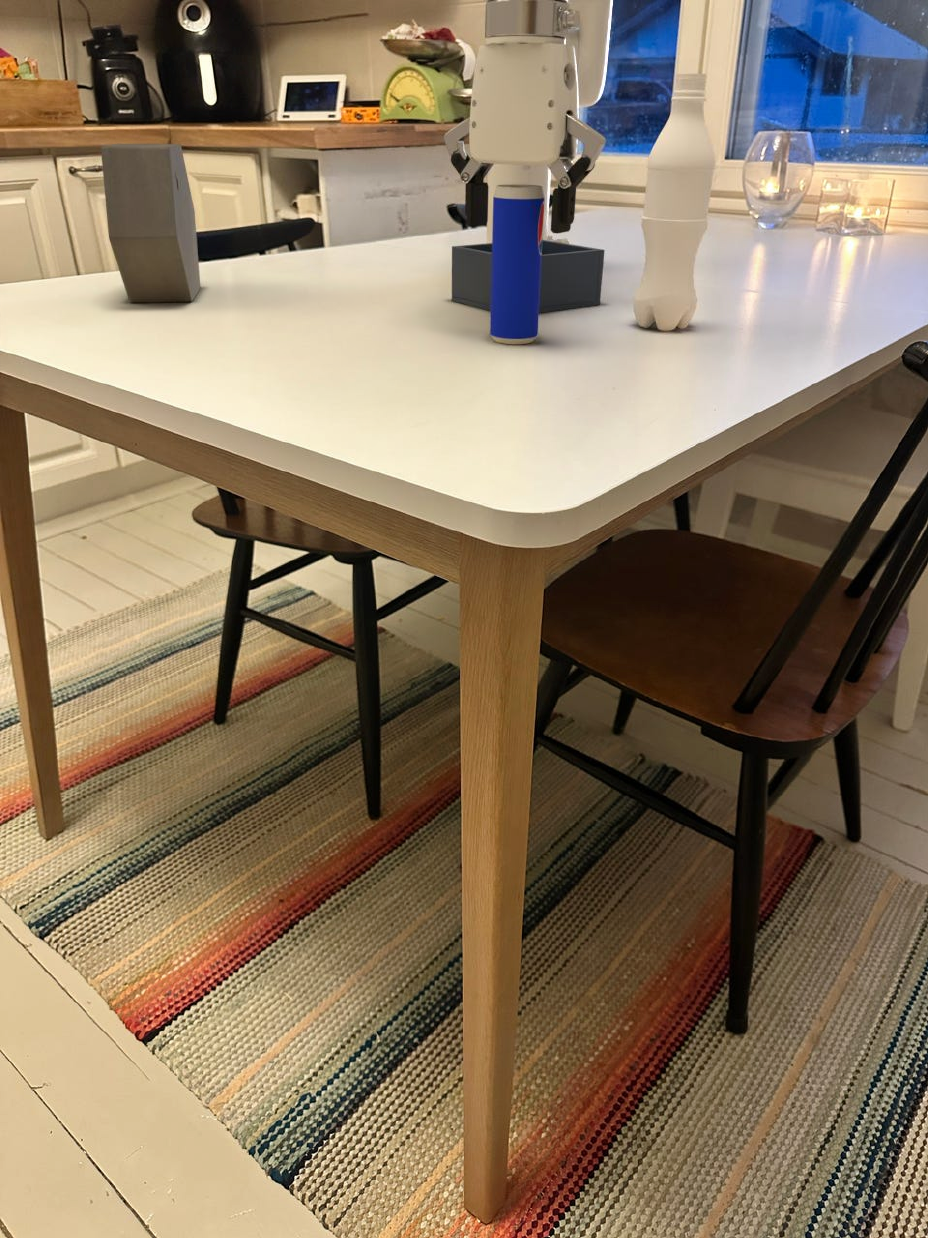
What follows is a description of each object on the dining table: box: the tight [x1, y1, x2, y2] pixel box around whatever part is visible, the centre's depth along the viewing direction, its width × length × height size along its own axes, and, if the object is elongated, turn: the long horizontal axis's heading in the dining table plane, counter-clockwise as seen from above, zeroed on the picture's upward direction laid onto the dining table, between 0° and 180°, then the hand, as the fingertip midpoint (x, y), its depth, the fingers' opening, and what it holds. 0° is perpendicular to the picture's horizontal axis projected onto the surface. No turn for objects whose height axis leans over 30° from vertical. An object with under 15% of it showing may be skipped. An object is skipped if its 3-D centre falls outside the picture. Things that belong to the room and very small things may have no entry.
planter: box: [100, 143, 201, 304], centre depth 111 cm, size 17×8×21 cm
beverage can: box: [489, 185, 545, 345], centre depth 92 cm, size 5×5×15 cm
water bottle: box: [632, 73, 716, 332], centre depth 97 cm, size 7×7×25 cm
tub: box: [451, 240, 605, 314], centre depth 113 cm, size 15×13×7 cm
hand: (517, 228), depth 90 cm, fingers open, 9 cm apart
